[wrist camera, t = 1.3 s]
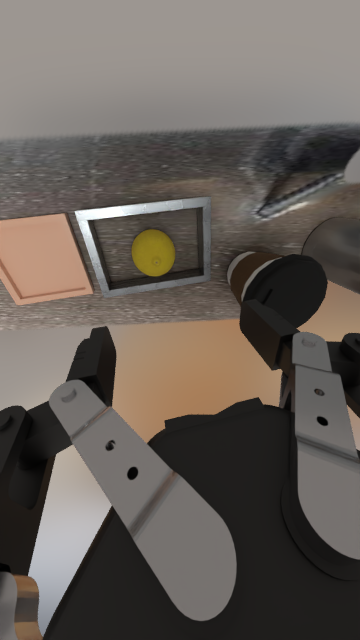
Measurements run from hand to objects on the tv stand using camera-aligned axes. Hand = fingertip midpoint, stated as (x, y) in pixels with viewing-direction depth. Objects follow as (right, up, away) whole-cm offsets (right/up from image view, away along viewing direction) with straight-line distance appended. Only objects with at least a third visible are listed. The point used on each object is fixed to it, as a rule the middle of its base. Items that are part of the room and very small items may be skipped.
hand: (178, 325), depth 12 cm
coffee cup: (+11, +9, +22) cm, 26 cm away
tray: (-19, +8, +15) cm, 26 cm away
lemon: (-4, +11, +17) cm, 21 cm away
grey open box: (-4, +11, +17) cm, 21 cm away
